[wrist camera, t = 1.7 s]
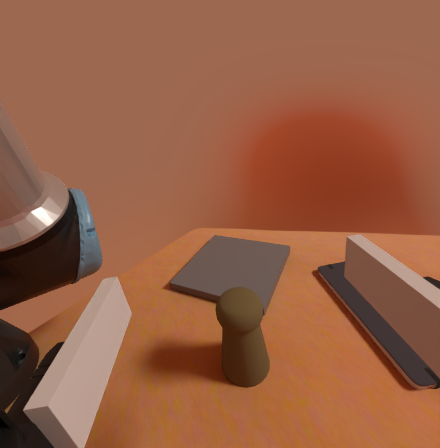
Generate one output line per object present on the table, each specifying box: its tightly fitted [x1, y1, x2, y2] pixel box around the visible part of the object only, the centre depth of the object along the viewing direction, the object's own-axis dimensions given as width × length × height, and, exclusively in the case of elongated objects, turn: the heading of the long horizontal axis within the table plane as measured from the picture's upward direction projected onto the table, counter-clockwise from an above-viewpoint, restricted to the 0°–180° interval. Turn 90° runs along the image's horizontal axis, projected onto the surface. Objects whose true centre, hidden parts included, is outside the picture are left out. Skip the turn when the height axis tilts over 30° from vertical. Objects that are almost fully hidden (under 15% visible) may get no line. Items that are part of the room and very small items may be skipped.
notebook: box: [318, 262, 440, 389], centre depth 35 cm, size 13×2×21 cm
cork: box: [216, 287, 269, 387], centre depth 28 cm, size 6×6×11 cm
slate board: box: [170, 235, 290, 315], centre depth 47 cm, size 18×18×2 cm
